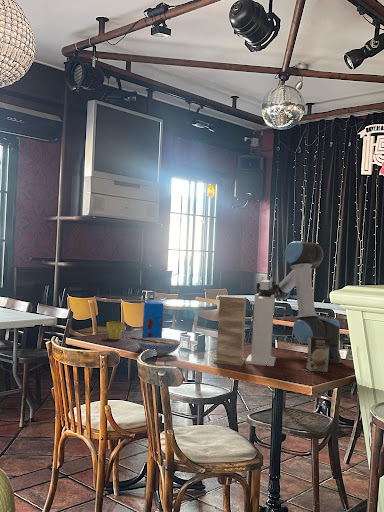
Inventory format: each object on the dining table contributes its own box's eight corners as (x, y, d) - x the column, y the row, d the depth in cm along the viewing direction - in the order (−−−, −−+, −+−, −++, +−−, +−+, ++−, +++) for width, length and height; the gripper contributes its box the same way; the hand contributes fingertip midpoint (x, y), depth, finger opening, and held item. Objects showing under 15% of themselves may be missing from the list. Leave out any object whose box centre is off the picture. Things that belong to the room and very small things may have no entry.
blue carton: (158, 349, 311) (160, 304, 311) (139, 348, 313) (141, 302, 313) (163, 347, 321) (165, 303, 322) (144, 345, 324) (147, 301, 324)
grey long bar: (263, 287, 309) (264, 279, 309) (271, 287, 309) (271, 280, 309) (259, 289, 282) (260, 281, 282) (267, 290, 281) (268, 282, 281)
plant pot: (102, 338, 339) (103, 322, 339) (110, 336, 349) (111, 321, 349) (118, 340, 336) (119, 324, 336) (125, 338, 346) (126, 322, 346)
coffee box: (309, 371, 274) (311, 337, 274) (306, 368, 280) (307, 335, 280) (328, 371, 274) (329, 338, 274) (324, 369, 281) (326, 336, 281)
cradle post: (249, 357, 303) (253, 292, 303) (275, 359, 300) (279, 294, 301) (245, 363, 284) (249, 294, 284) (273, 366, 281) (277, 296, 281)
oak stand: (218, 358, 293) (221, 295, 294) (244, 361, 291) (248, 296, 291) (213, 363, 280) (217, 296, 280) (242, 365, 277) (245, 298, 277)
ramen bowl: (190, 355, 298) (190, 340, 298) (166, 361, 278) (167, 344, 278) (150, 349, 311) (151, 334, 311) (125, 354, 291) (126, 338, 291)
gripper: (282, 306, 317) (282, 286, 297) (252, 303, 320) (250, 284, 300) (283, 294, 320) (283, 274, 301) (253, 292, 324) (251, 272, 304)
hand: (266, 279), depth 300 cm, fingers closed on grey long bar, 4 cm apart
